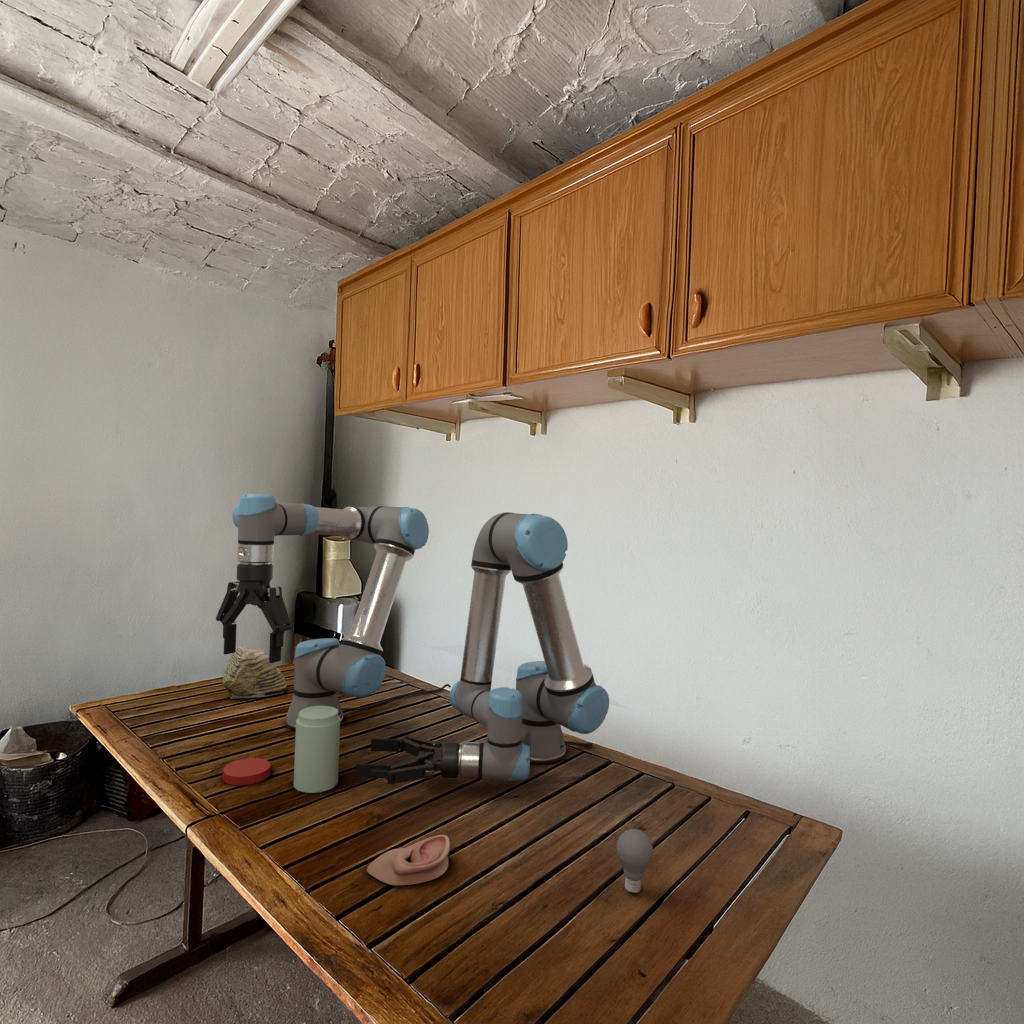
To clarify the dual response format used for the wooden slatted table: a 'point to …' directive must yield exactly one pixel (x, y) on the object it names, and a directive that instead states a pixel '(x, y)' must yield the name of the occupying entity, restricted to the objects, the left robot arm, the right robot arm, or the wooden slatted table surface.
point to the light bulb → (634, 857)
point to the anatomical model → (412, 862)
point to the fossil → (252, 675)
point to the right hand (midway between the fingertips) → (363, 756)
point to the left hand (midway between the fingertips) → (251, 657)
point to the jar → (316, 749)
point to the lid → (246, 771)
